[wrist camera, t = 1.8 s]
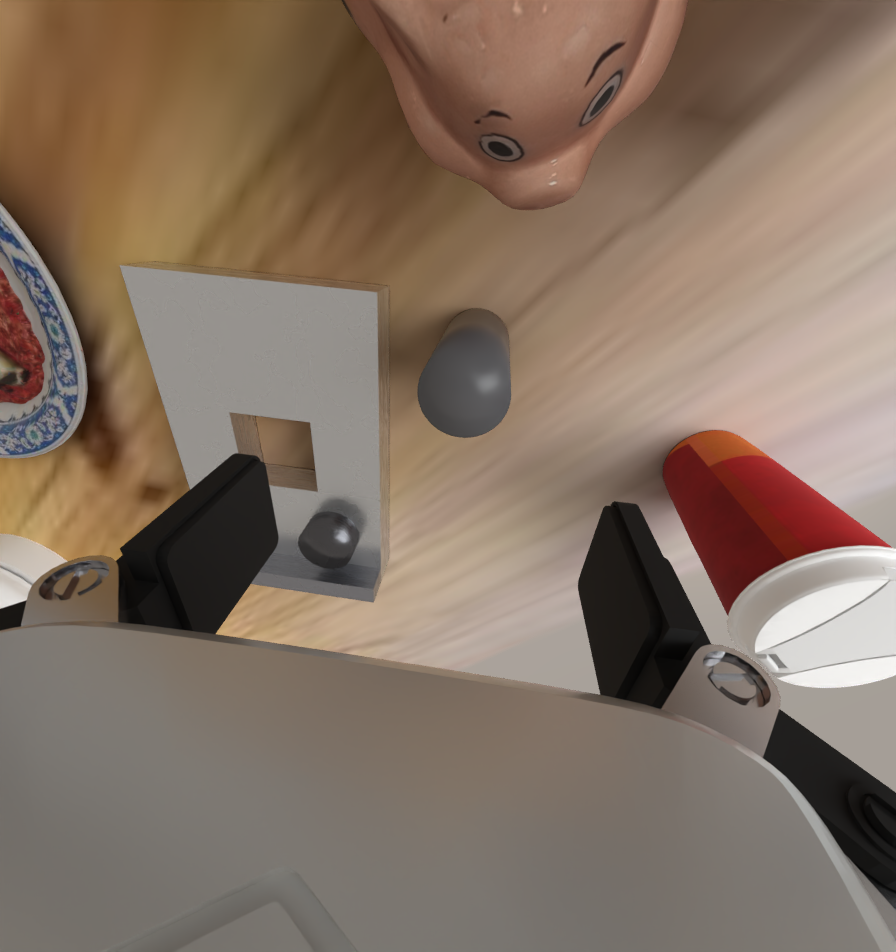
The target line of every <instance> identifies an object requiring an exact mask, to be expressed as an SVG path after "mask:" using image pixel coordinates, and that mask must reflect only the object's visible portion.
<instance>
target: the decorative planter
mask: <svg viewBox="0 0 896 952" xmlns="http://www.w3.org/2000/svg"><path fill="white" fill-rule="evenodd" d="M342 2H343V4H344V6H345V7H346V9H347V11H348V13H349V14H350V16H351V17H352V19H353V20H354V22H355V23H356V25H357V26H358V28H359V29H360V30H361V32H362V33H363V34H364V36H365V37H366V38H367V39H368V40H369V42H370V43H371V44H372V45H373V46H374V48H375V49H376V51H377V52H378V53H379V55H380V57H381V58H382V60H383V62H384V63H385V65H386V67H387V69H388V71H389V73H390V76H391V79H392V81H393V85H394V88H395V91H396V94H397V97H398V100H399V103H400V106H401V108H402V110H403V113H404V116H405V119H406V121H407V124H408V127H409V128H410V129H411V131H412V133H413V135H414V137H415V138H416V140H417V142H418V144H419V145H420V146H421V148H422V149H423V150H424V152H425V153H426V154H427V155H428V156H429V158H430V159H431V160H432V161H433V162H434V163H435V164H437V165H439V166H440V167H442V168H444V169H446V170H449V171H451V172H453V173H455V174H458V175H460V176H463V177H465V178H468V179H470V180H472V181H474V182H476V183H478V184H480V185H481V186H483V187H484V188H485V189H487V190H488V191H489V192H490V193H492V194H493V195H494V196H495V197H496V198H497V199H498V200H500V201H501V202H502V203H503V204H505V205H507V206H509V207H511V208H513V209H519V210H537V209H544V208H547V207H551V206H554V205H557V204H560V203H562V202H565V201H567V200H568V199H570V198H571V197H573V196H574V195H575V193H576V192H577V191H578V190H579V189H580V186H581V184H582V182H583V180H584V178H585V175H586V172H587V170H588V167H589V164H590V162H591V159H592V157H593V155H594V152H595V151H596V149H597V147H598V145H599V143H600V142H601V140H602V139H603V137H604V136H605V135H606V134H607V133H608V132H609V131H610V130H611V129H612V128H614V127H615V126H616V125H617V124H618V123H620V122H621V121H622V120H623V119H625V118H626V117H627V116H628V115H629V114H631V113H632V112H633V111H634V110H635V109H636V108H638V107H639V106H640V105H641V104H642V103H643V102H644V101H645V100H646V99H647V98H648V97H649V96H650V94H651V93H652V92H653V90H654V89H655V87H656V86H657V84H658V83H659V81H660V79H661V77H662V76H663V74H664V72H665V70H666V68H667V66H668V64H669V61H670V59H671V57H672V55H673V52H674V49H675V46H676V43H677V40H678V37H679V35H680V31H681V28H682V25H683V22H684V19H685V14H686V9H687V4H688V0H342Z"/></svg>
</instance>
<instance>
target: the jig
mask: <svg viewBox="0 0 896 952" xmlns="http://www.w3.org/2000/svg"><path fill="white" fill-rule="evenodd" d="M120 268H121V271H122V275H123V278H124V281H125V284H126V287H127V291H128V294H129V297H130V300H131V303H132V306H133V310H134V313H135V316H136V319H137V322H138V325H139V329H140V332H141V335H142V338H143V341H144V345H145V348H146V351H147V354H148V357H149V360H150V364H151V367H152V370H153V373H154V376H155V379H156V383H157V386H158V389H159V392H160V395H161V399H162V402H163V405H164V408H165V411H166V414H167V418H168V421H169V424H170V427H171V430H172V433H173V437H174V440H175V443H176V446H177V449H178V452H179V456H180V459H181V462H182V465H183V468H184V472H185V475H186V478H187V481H188V484H189V487H190V490H191V489H192V488H193V487H194V486H195V485H196V484H198V483H199V482H200V481H201V480H202V479H204V478H205V477H206V476H207V475H208V474H210V473H211V472H212V471H213V470H214V469H216V468H217V467H218V466H219V465H220V464H222V463H223V462H224V461H225V460H226V459H228V458H229V457H230V456H231V455H233V454H234V453H239V454H247V455H255V456H257V457H258V458H259V459H260V461H262V462H263V457H262V451H261V446H260V441H259V436H258V430H257V425H256V420H255V416H263V417H271V418H279V419H287V420H295V421H303V422H310V426H311V435H312V444H313V453H314V462H315V470H311V469H303V468H296V467H288V466H280V465H273V464H265V465H266V470H267V475H268V481H269V486H270V492H271V497H272V503H273V508H274V514H275V519H276V525H277V530H278V536H279V539H278V544H277V547H276V549H275V550H274V552H273V553H272V554H271V556H270V557H269V559H268V560H267V561H266V563H265V564H264V566H263V567H262V568H261V570H260V571H259V573H258V574H257V576H256V577H255V578H254V580H253V581H252V583H251V584H256V585H262V586H269V587H275V588H282V589H289V590H295V591H302V592H308V593H315V594H322V595H328V596H335V597H341V598H348V599H355V600H361V601H368V602H374V600H375V597H376V595H377V592H378V589H379V586H380V583H381V580H382V577H383V575H384V572H385V569H386V566H387V563H388V560H389V340H390V286H387V285H377V284H368V283H358V282H348V281H339V280H329V279H319V278H310V277H300V276H290V275H281V274H271V273H262V272H252V271H242V270H233V269H223V268H213V267H204V266H194V265H185V264H175V263H165V262H156V261H155V262H146V263H136V264H127V265H120Z"/></svg>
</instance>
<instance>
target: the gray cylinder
mask: <svg viewBox="0 0 896 952" xmlns="http://www.w3.org/2000/svg"><path fill="white" fill-rule="evenodd" d="M510 400H511V380H510V351H509V335H508V331H507V328H506V326H505V324H504V323H503V321H502V320H501V319H500V318H499V317H498V316H497V315H496V314H494V313H492V312H490V311H488V310H485V309H477V308H475V309H469V310H466V311H463V312H462V313H460V314H458V315H457V316H456V317H455V318H454V319H453V320H452V321H451V322H450V324H449V326H448V327H447V329H446V331H445V333H444V334H443V336H442V338H441V340H440V342H439V343H438V345H437V347H436V349H435V350H434V352H433V354H432V356H431V358H430V359H429V361H428V363H427V365H426V366H425V368H424V370H423V372H422V374H421V376H420V379H419V383H418V401H419V404H420V407H421V410H422V412H423V414H424V415H425V417H426V418H427V419H428V421H429V422H430V423H431V424H432V425H433V426H434V427H436V428H437V429H438V430H440V431H442V432H444V433H446V434H448V435H451V436H455V437H463V438H467V437H475V436H479V435H482V434H485V433H487V432H489V431H490V430H492V429H493V428H495V427H496V426H497V425H498V424H499V423H500V422H501V421H502V419H503V418H504V416H505V415H506V413H507V411H508V408H509V405H510Z"/></svg>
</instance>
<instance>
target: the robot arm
mask: <svg viewBox="0 0 896 952" xmlns="http://www.w3.org/2000/svg"><path fill="white" fill-rule="evenodd" d="M278 539H279V536H278V530H277V525H276V519H275V514H274V508H273V503H272V497H271V492H270V486H269V481H268V475H267V470H266V465H265V463H264V462H262V461H260V459H259V458H258V457H257V456H255V455H247V454H239V453H234V454H233V455H231V456H230V457H229V458H228V459H226V460H225V461H224V462H223V463H222V464H220V465H219V466H218V467H217V468H216V469H214V470H213V471H212V472H211V473H210V474H208V475H207V476H206V477H205V478H204V479H202V480H201V481H200V482H199V483H198V484H196V485H195V486H194V487H193V488H192V489H191V490H189V491H188V492H187V493H186V494H185V495H183V496H182V497H181V498H180V499H179V500H177V501H176V502H175V503H174V504H173V505H171V506H170V507H169V508H168V509H167V510H165V511H164V512H163V513H162V514H161V515H159V516H158V517H157V518H156V519H155V520H153V521H152V522H151V523H150V524H149V525H147V526H146V527H145V528H144V529H143V530H141V531H140V532H139V533H138V534H137V535H136V536H134V537H133V538H132V539H131V540H130V541H128V542H127V543H126V544H125V545H124V546H122V547H121V548H120V550H121V552H122V554H123V555H122V556H121V557H120V558H119V559H118V560H117V561H115V560H114V559H112V558H111V557H107V556H102V555H100V556H86V557H81V558H77V559H74V560H71V561H68V562H65V563H63V564H61V565H58V566H56V567H54V568H52V569H51V570H49V571H48V572H46V573H45V574H43V575H42V576H40V577H39V578H38V580H37V581H36V582H35V583H34V584H33V585H32V587H31V589H30V591H29V593H28V597H27V600H25V601H22V602H19V603H16V604H13V605H10V606H7V607H4V608H1V609H0V952H896V793H895V792H894V791H892V790H891V789H890V788H889V787H887V786H886V785H884V784H883V783H882V782H880V781H879V780H877V779H876V778H875V777H873V776H872V775H870V774H869V773H868V772H866V771H865V770H863V769H862V768H861V767H859V766H858V765H857V764H855V763H854V762H852V761H851V760H849V759H848V758H847V757H845V756H844V755H842V754H841V753H840V752H838V751H837V750H836V749H834V748H833V747H831V746H830V745H829V744H827V743H826V742H824V741H823V740H822V739H820V738H819V737H817V736H816V735H815V734H813V733H812V732H810V731H809V730H808V729H806V728H805V727H804V726H802V725H801V724H799V723H798V722H796V721H795V720H794V719H792V718H791V717H790V716H788V715H787V714H785V713H784V712H783V711H781V710H780V709H779V708H780V694H779V692H778V689H777V686H776V685H775V683H774V682H773V680H772V679H771V677H770V676H769V675H768V673H766V671H765V670H764V669H762V667H761V666H760V665H759V664H757V663H756V662H755V661H753V660H751V659H750V658H749V657H748V656H746V655H744V654H743V653H741V652H739V651H737V650H735V649H732V648H729V647H726V646H723V645H714V644H711V643H710V641H709V639H708V637H707V635H706V633H705V631H704V629H703V627H702V625H701V623H700V621H699V619H698V617H697V615H696V613H695V611H694V609H693V607H692V605H691V603H690V601H689V599H688V597H687V596H686V593H685V591H684V589H683V587H682V585H681V583H680V581H679V579H678V577H677V575H676V573H675V571H674V569H673V567H672V565H671V564H670V562H669V561H668V559H666V558H664V557H663V555H662V553H661V551H660V549H659V547H658V545H657V543H656V541H655V539H654V537H653V535H652V533H651V531H650V529H649V527H648V524H647V522H646V520H645V518H644V516H643V514H642V512H641V510H640V508H639V507H638V505H636V504H631V503H623V502H613V503H612V504H611V506H605V507H604V508H603V511H602V514H601V516H600V519H599V522H598V525H597V528H596V531H595V534H594V537H593V539H592V542H591V545H590V548H589V551H588V554H587V557H586V560H585V562H584V565H583V568H582V571H581V574H580V577H579V582H578V591H579V596H580V601H581V605H582V610H583V615H584V619H585V624H586V629H587V633H588V638H589V643H590V648H591V652H592V657H593V662H594V666H595V671H596V676H597V680H598V685H599V690H600V695H598V694H592V693H587V692H581V691H575V690H570V689H564V688H558V687H552V686H547V685H541V684H535V683H528V682H523V681H516V680H510V679H504V678H497V677H491V676H484V675H479V674H472V673H466V672H460V671H453V670H447V669H441V668H435V667H428V666H422V665H415V664H409V663H402V662H396V661H389V660H383V659H376V658H370V657H363V656H357V655H350V654H344V653H337V652H330V651H324V650H317V649H311V648H304V647H297V646H291V645H284V644H277V643H270V642H264V641H257V640H250V639H243V638H236V637H230V636H223V635H216V634H215V633H216V632H217V631H218V629H219V628H220V626H221V625H222V624H223V622H224V621H225V619H226V618H227V617H228V615H229V614H230V612H231V611H232V609H233V608H234V607H235V605H236V604H237V602H238V601H239V600H240V598H241V597H242V595H243V594H244V593H245V591H246V590H247V588H248V587H249V585H250V584H251V583H252V581H253V580H254V578H255V577H256V576H257V574H258V573H259V571H260V570H261V568H262V567H263V566H264V564H265V563H266V561H267V560H268V559H269V557H270V556H271V554H272V553H273V552H274V550H275V549H276V547H277V544H278Z"/></svg>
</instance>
